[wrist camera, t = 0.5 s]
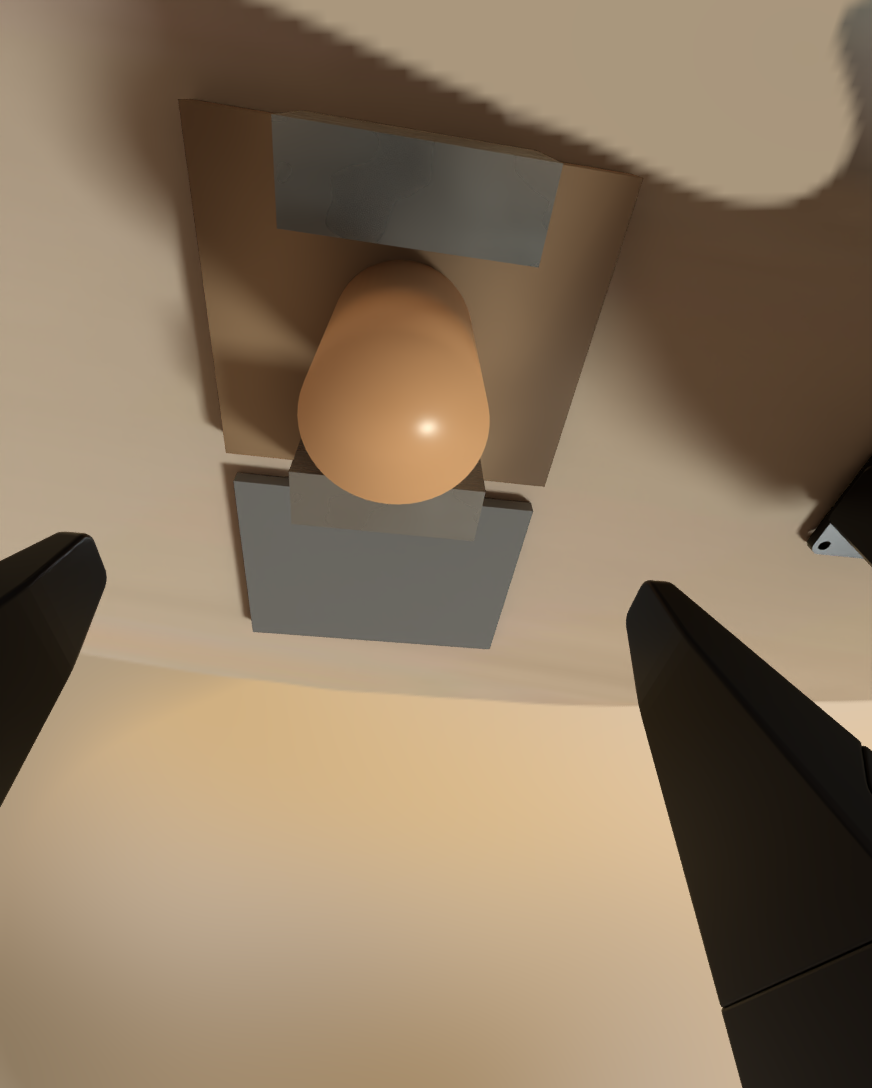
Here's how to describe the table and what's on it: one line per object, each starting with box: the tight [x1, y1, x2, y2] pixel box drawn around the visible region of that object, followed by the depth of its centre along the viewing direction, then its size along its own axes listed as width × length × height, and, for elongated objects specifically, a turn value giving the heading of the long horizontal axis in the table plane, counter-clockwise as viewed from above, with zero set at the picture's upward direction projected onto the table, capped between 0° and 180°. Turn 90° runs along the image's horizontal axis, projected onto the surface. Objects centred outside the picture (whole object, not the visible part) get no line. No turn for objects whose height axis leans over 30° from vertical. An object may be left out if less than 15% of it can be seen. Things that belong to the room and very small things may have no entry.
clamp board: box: [178, 99, 643, 487], centre depth 17 cm, size 12×10×1 cm
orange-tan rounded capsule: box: [297, 260, 490, 504], centre depth 15 cm, size 4×4×6 cm
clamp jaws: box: [271, 110, 563, 541], centre depth 15 cm, size 6×10×4 cm, turn 172°
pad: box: [233, 473, 533, 649], centre depth 24 cm, size 12×9×1 cm
